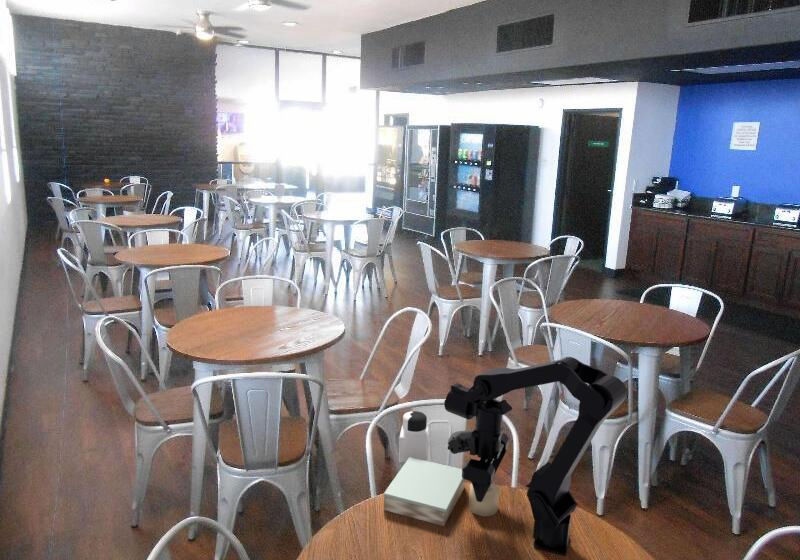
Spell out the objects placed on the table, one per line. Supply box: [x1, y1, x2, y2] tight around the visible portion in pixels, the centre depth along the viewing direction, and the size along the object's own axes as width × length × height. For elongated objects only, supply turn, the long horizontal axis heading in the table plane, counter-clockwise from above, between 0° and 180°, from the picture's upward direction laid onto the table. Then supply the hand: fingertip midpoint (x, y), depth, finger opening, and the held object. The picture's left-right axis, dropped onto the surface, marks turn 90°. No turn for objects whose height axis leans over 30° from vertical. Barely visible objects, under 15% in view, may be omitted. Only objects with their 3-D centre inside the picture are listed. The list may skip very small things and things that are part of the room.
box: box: [383, 479, 466, 527], centre depth 135 cm, size 14×16×3 cm
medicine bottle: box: [398, 410, 430, 464], centre depth 152 cm, size 7×7×12 cm
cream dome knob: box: [468, 481, 500, 517], centre depth 132 cm, size 6×6×5 cm
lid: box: [383, 457, 463, 512], centre depth 135 cm, size 14×16×1 cm
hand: (484, 490), depth 132 cm, fingers open, 9 cm apart
